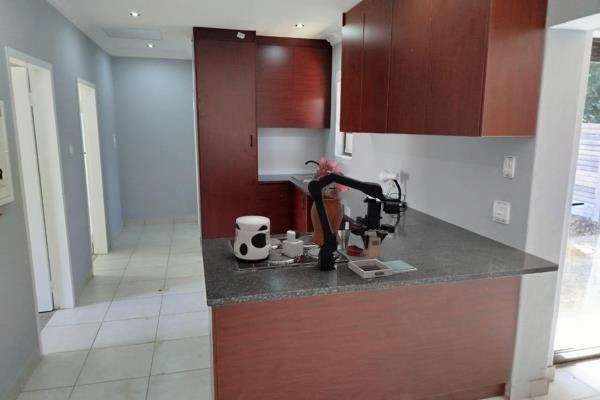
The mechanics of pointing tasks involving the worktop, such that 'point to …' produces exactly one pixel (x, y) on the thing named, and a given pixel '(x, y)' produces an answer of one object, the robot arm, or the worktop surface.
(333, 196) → the potted flower
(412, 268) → the lid
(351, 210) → the worktop surface
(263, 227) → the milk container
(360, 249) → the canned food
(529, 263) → the worktop surface
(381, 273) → the pale grey square frame
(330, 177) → the robot arm
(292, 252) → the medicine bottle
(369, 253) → the block
